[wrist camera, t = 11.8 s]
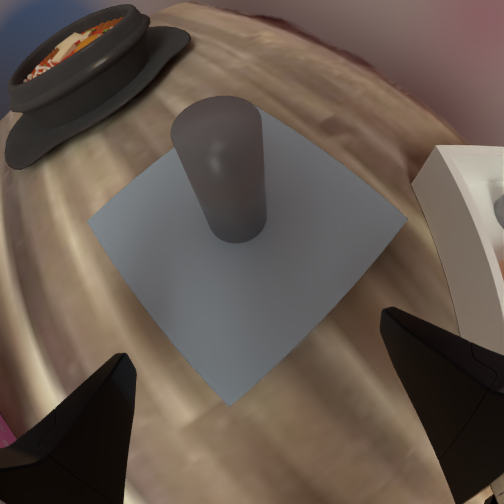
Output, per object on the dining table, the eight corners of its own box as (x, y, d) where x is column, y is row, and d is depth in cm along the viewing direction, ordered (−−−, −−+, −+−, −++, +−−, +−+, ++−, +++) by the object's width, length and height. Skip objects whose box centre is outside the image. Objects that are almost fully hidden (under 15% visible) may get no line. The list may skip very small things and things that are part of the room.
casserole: (33, 214, 20) (-28, 164, 12) (5, 140, 25) (-27, 103, 17) (230, 55, 25) (220, -12, 17) (144, 31, 31) (129, -13, 23)
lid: (396, 232, 17) (466, 142, 9) (234, 401, 14) (189, 448, 6) (247, 118, 21) (235, 18, 13) (101, 234, 18) (21, 160, 10)
